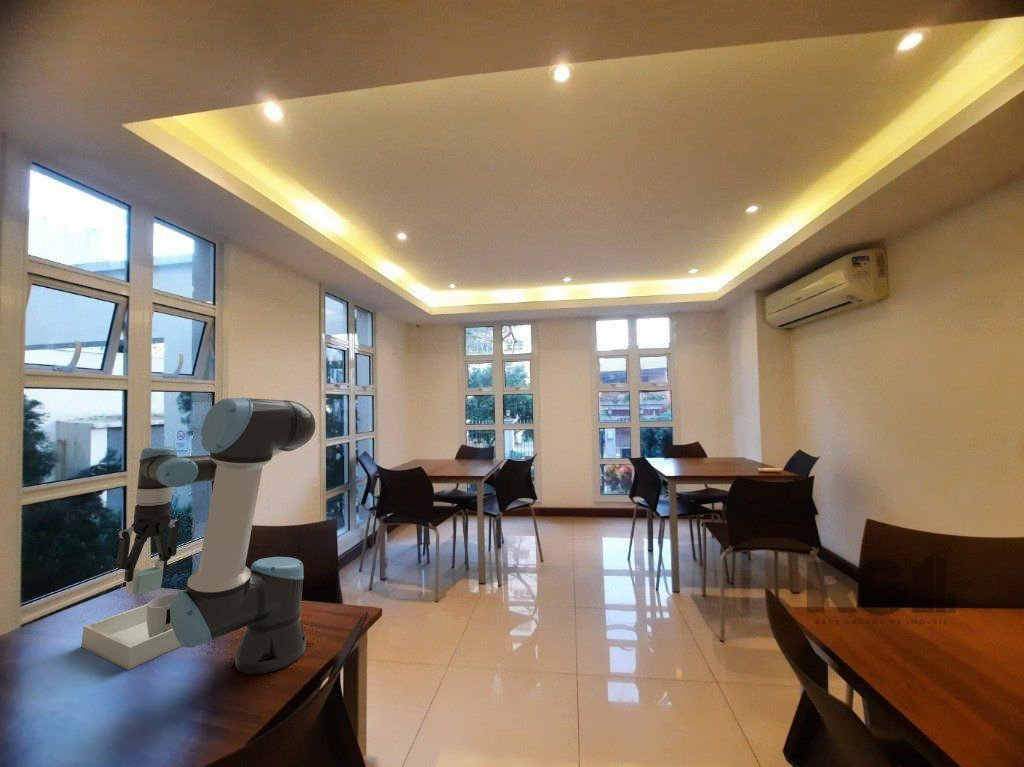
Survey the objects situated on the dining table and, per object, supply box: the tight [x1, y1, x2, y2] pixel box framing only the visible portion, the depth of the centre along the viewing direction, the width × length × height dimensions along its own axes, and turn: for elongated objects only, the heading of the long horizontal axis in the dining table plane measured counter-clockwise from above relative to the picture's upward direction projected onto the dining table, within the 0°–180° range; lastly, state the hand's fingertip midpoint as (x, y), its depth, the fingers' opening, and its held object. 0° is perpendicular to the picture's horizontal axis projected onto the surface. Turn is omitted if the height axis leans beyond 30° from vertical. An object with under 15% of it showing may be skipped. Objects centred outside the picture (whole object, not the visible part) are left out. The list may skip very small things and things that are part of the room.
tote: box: [80, 603, 183, 671], centre depth 105 cm, size 22×20×5 cm
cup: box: [147, 592, 179, 638], centre depth 103 cm, size 8×8×10 cm
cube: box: [134, 566, 164, 596], centre depth 108 cm, size 5×5×5 cm
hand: (144, 588), depth 108 cm, fingers closed on cube, 5 cm apart
